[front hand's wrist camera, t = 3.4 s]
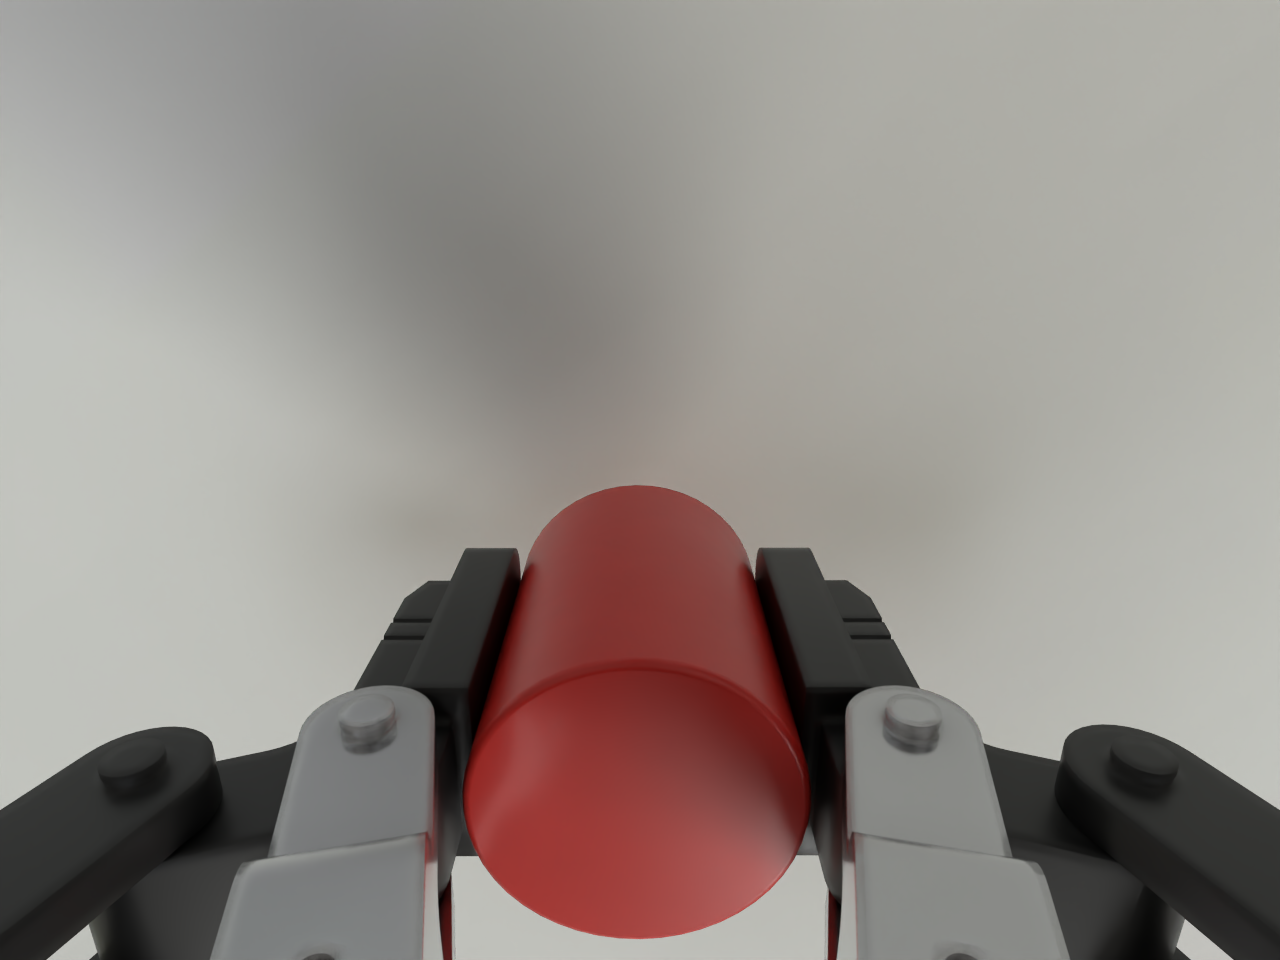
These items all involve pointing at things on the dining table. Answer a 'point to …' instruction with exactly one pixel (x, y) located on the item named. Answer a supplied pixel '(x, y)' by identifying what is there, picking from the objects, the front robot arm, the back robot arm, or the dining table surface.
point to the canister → (637, 726)
